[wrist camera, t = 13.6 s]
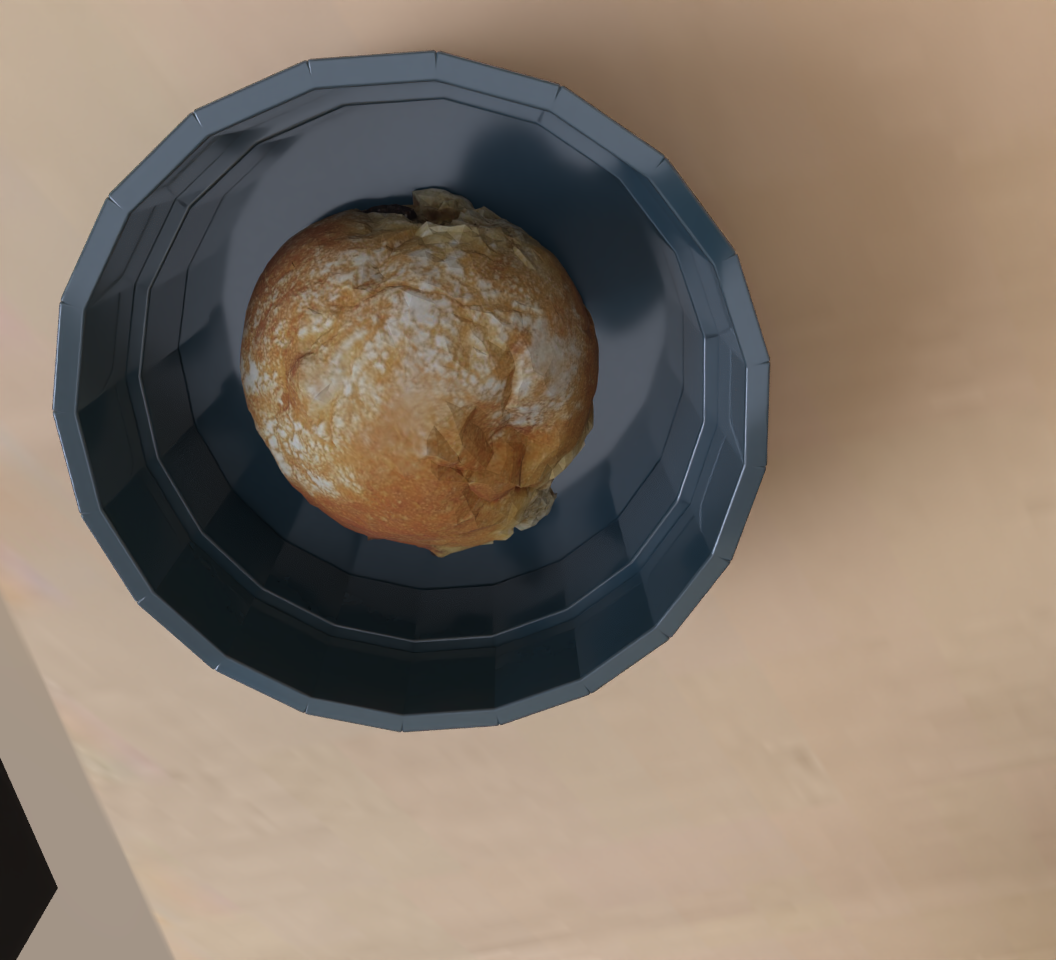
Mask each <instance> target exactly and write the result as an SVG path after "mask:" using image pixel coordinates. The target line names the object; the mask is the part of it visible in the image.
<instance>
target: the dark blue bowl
mask: <svg viewBox="0 0 1056 960" xmlns="http://www.w3.org/2000/svg"><path fill="white" fill-rule="evenodd" d="M430 188H435V189H442V190H446V191H448V192H450V193H452V194H455V195H461V196H463V197H465V198H466V199H468V200H469V201H470V202H471V203H472V205H473V207H474V209H479V208H481V207H483V206H485V207H486V208H488V209H489V210H491V211H492V212H493V213H495V214H496V215H498V216H499V217H500V218H502V219H505V220H507V221H508V222H510V223H512V224H514V225H516V226H518V227H520V228H522V229H523V230H524V231H525V232H526V233H527V234H528V235H529V236H531V237H532V238H533V239H535V240H537V241H538V242H539V243H540V244H541V245H542V246H543V247H545V248H546V249H548V250H549V251H550V252H551V253H552V254H554V255H555V256H556V258H557V259H558V260H559V262H560V263H561V264H562V266H563V267H564V269H565V270H566V272H567V273H568V275H569V277H570V278H571V280H572V281H573V283H574V285H575V287H576V288H577V290H578V292H579V294H580V296H581V298H582V301H583V304H584V305H585V307H586V308H587V309H588V311H589V312H590V314H591V317H592V320H593V322H594V327H595V332H596V337H597V341H598V347H599V371H598V383H597V389H596V392H595V395H594V398H593V406H594V426H593V428H592V430H591V431H590V433H589V434H588V435H587V436H586V438H585V440H584V442H585V446H584V447H583V448H582V450H581V451H580V452H579V453H578V454H577V456H576V457H575V458H574V459H573V460H572V462H571V463H570V464H569V465H568V467H567V468H566V469H565V470H563V471H562V472H561V473H560V474H559V475H558V476H556V477H555V478H554V480H553V482H552V483H551V486H550V487H551V489H552V491H553V492H554V494H555V493H557V498H556V499H555V500H554V503H553V505H552V507H551V510H550V512H549V514H548V515H546V516H544V517H543V518H542V519H540V520H539V521H538V523H537V524H536V525H535V526H532V527H530V528H527V529H525V530H522V531H521V530H519V529H518V528H516V527H514V528H513V532H514V533H513V534H512V535H511V537H509V538H508V539H506V540H494V541H493V544H485V545H479V546H475V547H472V548H469V549H465V550H462V551H458V552H455V553H451V554H449V555H447V556H444V557H442V558H441V557H438V556H433V555H431V553H430V551H429V550H428V549H426V548H420V547H418V546H416V545H411V544H405V543H400V542H396V541H390V540H386V539H374V540H368V541H367V538H368V536H366V535H364V534H361V533H358V532H355V531H353V530H350V529H348V528H346V527H344V526H342V525H341V524H339V523H338V522H337V521H335V520H334V519H332V518H331V517H329V516H328V515H327V514H325V513H324V512H323V511H321V510H320V509H319V508H318V507H316V506H313V505H311V504H310V503H309V502H308V501H307V500H306V498H305V497H304V496H303V495H302V494H301V493H300V492H299V491H297V490H296V489H295V488H294V487H293V486H292V485H291V484H290V483H289V481H288V480H287V479H286V478H285V476H284V474H283V473H282V472H281V470H280V468H279V466H278V464H277V462H276V460H275V458H274V456H273V455H272V453H271V451H270V449H269V448H268V447H267V446H266V444H265V442H264V440H263V439H262V437H261V436H260V435H259V433H258V431H257V430H256V427H255V422H254V419H253V417H252V415H251V413H250V411H249V410H248V407H247V402H246V398H245V394H244V390H243V385H242V380H241V371H240V353H241V344H242V337H243V330H244V323H245V316H246V310H247V307H248V304H249V301H250V298H251V295H252V293H253V290H254V288H255V285H256V283H257V281H258V279H259V277H260V275H261V273H262V272H263V271H264V269H265V267H266V265H267V263H268V262H269V261H270V260H271V259H272V257H273V256H274V255H275V254H276V252H277V251H278V250H279V249H280V247H281V246H282V245H283V244H284V243H285V242H286V241H287V240H288V239H289V238H291V237H292V236H294V235H295V234H297V233H298V232H299V231H301V230H303V229H304V228H306V227H308V226H309V225H311V224H313V223H316V222H318V221H320V220H322V219H325V218H327V217H329V216H332V215H334V214H337V213H340V212H343V211H346V210H350V209H359V210H361V211H363V210H368V209H369V208H371V207H374V206H379V205H391V204H398V205H413V195H412V191H417V190H423V189H430ZM769 361H770V357H769V354H768V351H767V347H766V344H765V341H764V338H763V335H762V331H761V328H760V325H759V322H758V318H757V315H756V312H755V309H754V305H753V302H752V299H751V296H750V293H749V289H748V286H747V283H746V280H745V276H744V273H743V270H742V267H741V263H740V260H739V257H738V255H737V254H736V252H735V249H734V248H733V247H732V245H731V244H730V243H729V241H728V240H727V238H726V237H725V236H724V234H723V233H722V232H721V230H720V229H719V228H718V226H717V225H716V224H715V222H714V221H713V219H712V218H711V217H710V215H709V214H708V213H707V211H706V210H705V209H704V207H703V206H702V205H701V203H700V202H699V200H698V199H697V198H696V196H695V195H694V194H693V192H692V191H691V190H690V188H689V187H688V185H687V184H686V183H685V181H684V180H683V179H682V177H681V176H680V175H679V173H678V172H677V171H676V169H675V168H674V166H673V165H672V164H671V162H670V161H669V160H668V159H667V158H665V156H664V154H662V153H661V152H659V151H658V150H656V149H655V148H653V147H652V146H650V145H649V144H648V143H646V142H645V141H643V140H642V139H640V138H639V137H637V136H636V135H634V134H633V133H632V132H630V131H629V130H627V129H626V128H624V127H623V126H621V125H620V124H619V123H617V122H616V121H614V120H613V119H611V118H610V117H608V116H607V115H605V114H604V113H603V112H601V111H600V110H598V109H597V108H595V107H594V106H592V105H591V104H590V103H588V102H587V101H585V100H584V99H582V98H581V97H579V96H578V95H576V94H575V93H574V92H572V91H571V90H569V89H568V88H566V87H565V86H561V85H560V84H558V83H555V82H551V81H547V80H544V79H540V78H537V77H533V76H529V75H526V74H522V73H518V72H515V71H511V70H508V69H504V68H500V67H497V66H493V65H489V64H486V63H482V62H479V61H475V60H471V59H468V58H464V57H460V56H457V55H453V54H450V53H446V52H442V51H435V50H428V51H414V52H400V53H386V54H372V55H358V56H344V57H330V58H316V59H309V60H308V61H306V60H304V61H302V62H300V63H297V64H295V65H293V66H291V67H289V68H286V69H284V70H282V71H280V72H277V73H275V74H273V75H271V76H269V77H266V78H264V79H262V80H260V81H257V82H255V83H253V84H251V85H249V86H246V87H244V88H242V89H240V90H237V91H235V92H233V93H231V94H228V95H226V96H224V97H222V98H220V99H217V100H215V101H213V102H211V103H208V104H206V105H204V106H202V107H200V108H197V109H195V110H194V112H192V113H190V114H189V115H188V116H187V117H186V118H185V119H184V120H183V121H182V122H181V123H180V124H179V125H178V126H177V127H176V128H175V129H174V130H173V131H172V132H171V133H170V134H169V135H168V136H167V137H166V138H165V139H163V140H162V141H161V142H160V143H159V144H158V145H157V146H156V147H155V148H154V149H153V150H152V151H151V152H150V153H149V154H148V155H147V156H146V157H145V158H144V159H143V160H142V161H141V162H140V163H139V164H138V165H137V166H136V167H135V168H134V169H133V170H132V171H131V172H130V173H129V174H128V175H127V176H126V177H125V178H124V179H123V180H122V181H121V182H120V183H119V184H118V185H117V186H116V187H115V188H114V189H113V190H112V191H111V192H110V193H109V197H107V198H106V199H105V201H104V204H103V206H102V208H101V210H100V213H99V215H98V217H97V219H96V221H95V224H94V226H93V228H92V230H91V233H90V235H89V237H88V239H87V241H86V244H85V246H84V248H83V250H82V252H81V255H80V257H79V259H78V261H77V264H76V266H75V268H74V270H73V272H72V275H71V277H70V279H69V281H68V284H67V286H66V288H65V290H64V292H63V295H62V297H61V302H60V306H59V320H58V334H57V348H56V363H55V377H54V391H53V406H52V409H53V410H54V411H53V416H54V420H55V423H56V427H57V431H58V434H59V438H60V442H61V446H62V449H63V453H64V457H65V460H66V464H67V468H68V472H69V475H70V479H71V483H72V486H73V490H74V494H75V498H76V501H77V505H78V509H79V512H80V513H81V517H82V518H83V520H84V521H85V523H86V525H87V526H88V528H89V529H90V531H91V532H92V534H93V535H94V537H95V539H96V540H97V542H98V543H99V545H100V546H101V548H102V549H103V551H104V553H105V554H106V556H107V557H108V559H109V560H110V562H111V564H112V565H113V567H114V568H115V570H116V571H117V573H118V574H119V576H120V578H121V579H122V581H123V582H124V584H125V585H126V587H127V588H128V590H129V592H130V593H131V595H132V596H133V598H134V599H135V601H138V602H137V603H138V605H139V606H141V607H142V608H143V609H144V610H145V611H146V612H148V613H149V614H150V615H151V616H152V617H153V618H154V619H156V620H157V621H158V622H159V623H160V624H161V625H162V626H164V627H165V628H166V629H167V630H168V631H169V632H170V633H172V634H173V635H174V636H175V637H176V638H177V639H179V640H180V641H181V642H182V643H183V644H184V645H185V646H187V647H188V648H189V649H190V650H191V651H192V652H193V653H195V654H196V655H197V656H198V657H199V658H200V659H201V660H203V661H204V662H205V663H206V664H207V665H208V666H210V667H211V668H212V669H215V670H216V671H217V672H219V673H221V674H223V675H226V676H228V677H230V678H232V679H234V680H236V681H238V682H240V683H242V684H244V685H246V686H248V687H250V688H253V689H255V690H257V691H259V692H261V693H263V694H265V695H267V696H269V697H271V698H273V699H275V700H277V701H279V702H282V703H284V704H286V705H288V706H290V707H292V708H294V709H296V710H298V711H300V712H302V713H304V712H305V713H306V714H308V715H313V716H319V717H324V718H329V719H334V720H339V721H345V722H350V723H355V724H360V725H365V726H371V727H376V728H381V729H386V730H391V731H397V732H401V731H403V732H414V731H429V730H444V729H458V728H473V727H488V726H498V725H499V724H500V725H503V724H506V723H509V722H512V721H515V720H517V719H520V718H523V717H526V716H529V715H532V714H535V713H538V712H541V711H544V710H546V709H549V708H552V707H555V706H558V705H561V704H564V703H567V702H570V701H573V700H575V699H578V698H581V697H584V696H587V695H589V694H590V693H593V692H595V691H596V690H598V689H599V688H600V687H602V686H603V685H605V684H606V683H608V682H609V681H611V680H612V679H613V678H615V677H616V676H618V675H619V674H621V673H622V672H623V671H625V670H626V669H628V668H629V667H631V666H632V665H633V664H635V663H636V662H638V661H639V660H641V659H642V658H644V657H645V656H646V655H648V654H649V653H651V652H652V651H654V650H655V649H656V648H658V647H659V646H661V645H662V644H664V643H665V642H666V641H668V640H669V637H670V638H671V637H672V636H673V635H674V634H675V632H676V631H677V630H678V629H679V627H680V626H681V625H682V623H683V622H684V621H685V620H686V618H687V617H688V616H689V615H690V613H691V612H692V611H693V610H694V608H695V607H696V606H697V604H698V603H699V602H700V601H701V599H702V598H703V597H704V596H705V594H706V593H707V592H708V591H709V589H710V588H711V587H712V585H713V584H714V583H715V582H716V580H717V579H718V578H719V577H720V575H721V574H722V573H723V572H724V570H725V569H726V568H727V566H728V565H729V564H730V561H731V560H732V559H733V556H734V553H735V550H736V548H737V545H738V542H739V540H740V537H741V534H742V532H743V529H744V526H745V524H746V521H747V518H748V516H749V513H750V510H751V508H752V505H753V502H754V500H755V497H756V494H757V492H758V489H759V486H760V483H761V481H762V478H763V475H764V473H765V470H766V465H767V448H768V417H769V386H770V362H769Z"/></svg>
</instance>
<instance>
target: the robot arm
mask: <svg viewBox="0 0 1056 960" xmlns="http://www.w3.org/2000/svg"><path fill="white" fill-rule="evenodd" d="M57 888H58V887H57V885H56V883H55V880H54V878H53V876H52V874H51V871H50V869H49V867H48V865H47V862H46V861H45V858H44V856H43V853H42V851H41V849H40V847H39V844H38V842H37V840H36V838H35V835H34V833H33V831H32V829H31V827H30V824H29V822H28V820H27V817H26V815H25V813H24V810H23V808H22V806H21V804H20V801H19V799H18V797H17V795H16V793H15V790H14V788H13V786H12V783H11V781H10V779H9V777H8V774H7V772H6V770H5V768H4V765H3V763H2V761H1V759H0V960H16V959H17V957H18V956H19V954H20V952H21V950H22V948H23V947H24V945H25V944H26V942H27V940H28V938H29V936H30V935H31V933H32V931H33V930H34V928H35V926H36V925H37V923H38V921H39V919H40V918H41V916H42V914H43V912H44V911H45V909H46V907H47V906H48V904H49V902H50V900H51V899H52V897H53V895H54V894H55V892H56V890H57Z"/></svg>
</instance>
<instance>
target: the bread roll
mask: <svg viewBox="0 0 1056 960" xmlns="http://www.w3.org/2000/svg"><path fill="white" fill-rule="evenodd" d="M412 195H413V205H398V204H391V205H379V206H374V207H371V208H369V209H368V210H363V211H361V210H359V209H350V210H346V211H343V212H340V213H337V214H334V215H332V216H329V217H327V218H325V219H322V220H320V221H318V222H316V223H313V224H311V225H309V226H308V227H306V228H304V229H303V230H301V231H299V232H298V233H297V234H295V235H294V236H292V237H291V238H289V239H288V240H287V241H286V242H285V243H284V244H283V245H282V246H281V247H280V249H279V250H278V251H277V252H276V254H275V255H274V256H273V257H272V259H271V260H270V261H269V262H268V263H267V265H266V267H265V269H264V271H263V272H262V273H261V275H260V277H259V279H258V281H257V283H256V285H255V288H254V290H253V293H252V295H251V298H250V301H249V304H248V307H247V310H246V316H245V323H244V330H243V337H242V344H241V353H240V371H241V380H242V385H243V390H244V394H245V398H246V402H247V407H248V410H249V411H250V413H251V415H252V417H253V419H254V422H255V427H256V430H257V431H258V433H259V435H260V436H261V437H262V439H263V440H264V442H265V444H266V446H267V447H268V448H269V449H270V451H271V453H272V455H273V456H274V458H275V460H276V462H277V464H278V466H279V468H280V470H281V472H282V473H283V474H284V476H285V478H286V479H287V480H288V481H289V483H290V484H291V485H292V486H293V487H294V488H295V489H296V490H297V491H299V492H300V493H301V494H302V495H303V496H304V497H305V498H306V500H307V501H308V502H309V503H310V504H311V505H313V506H316V507H318V508H319V509H320V510H321V511H323V512H324V513H325V514H327V515H328V516H329V517H331V518H332V519H334V520H335V521H337V522H338V523H339V524H341V525H342V526H344V527H346V528H348V529H350V530H353V531H355V532H358V533H361V534H364V535H366V536H368V538H367V541H368V540H374V539H386V540H390V541H396V542H400V543H405V544H411V545H416V546H418V547H420V548H426V549H428V550H429V551H430V553H431V555H433V556H438V557H441V558H442V557H444V556H447V555H449V554H451V553H455V552H458V551H462V550H465V549H469V548H472V547H475V546H479V545H485V544H493V541H494V540H506V539H508V538H509V537H511V535H512V534H513V533H514V532H513V528H514V527H516V528H518V529H519V530H521V531H522V530H525V529H527V528H530V527H532V526H535V525H536V524H537V523H538V521H539V520H540V519H542V518H543V517H544V516H546V515H548V514H549V512H550V510H551V507H552V505H553V503H554V500H555V499H556V498H557V493H555V494H554V492H553V491H552V489H551V487H550V486H551V483H552V482H553V480H554V478H555V477H556V476H558V475H559V474H560V473H561V472H562V471H563V470H565V469H566V468H567V467H568V465H569V464H570V463H571V462H572V460H573V459H574V458H575V457H576V456H577V454H578V453H579V452H580V451H581V450H582V448H583V447H584V446H585V442H584V440H585V438H586V436H587V435H588V434H589V433H590V431H591V430H592V428H593V426H594V406H593V398H594V395H595V392H596V389H597V383H598V371H599V347H598V341H597V337H596V332H595V327H594V322H593V320H592V317H591V314H590V312H589V311H588V309H587V308H586V307H585V305H584V304H583V301H582V298H581V296H580V294H579V292H578V290H577V288H576V287H575V285H574V283H573V281H572V280H571V278H570V277H569V275H568V273H567V272H566V270H565V269H564V267H563V266H562V264H561V263H560V262H559V260H558V259H557V258H556V256H555V255H554V254H552V253H551V252H550V251H549V250H548V249H546V248H545V247H543V246H542V245H541V244H540V243H539V242H538V241H537V240H535V239H533V238H532V237H531V236H529V235H528V234H527V233H526V232H525V231H524V230H523V229H522V228H520V227H518V226H516V225H514V224H512V223H510V222H508V221H507V220H505V219H502V218H500V217H499V216H498V215H496V214H495V213H493V212H492V211H491V210H489V209H488V208H486V207H485V206H483V207H481V208H479V209H474V207H473V205H472V203H471V202H470V201H469V200H468V199H466V198H465V197H463V196H461V195H455V194H452V193H450V192H448V191H446V190H442V189H435V188H430V189H423V190H417V191H412Z"/></svg>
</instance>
